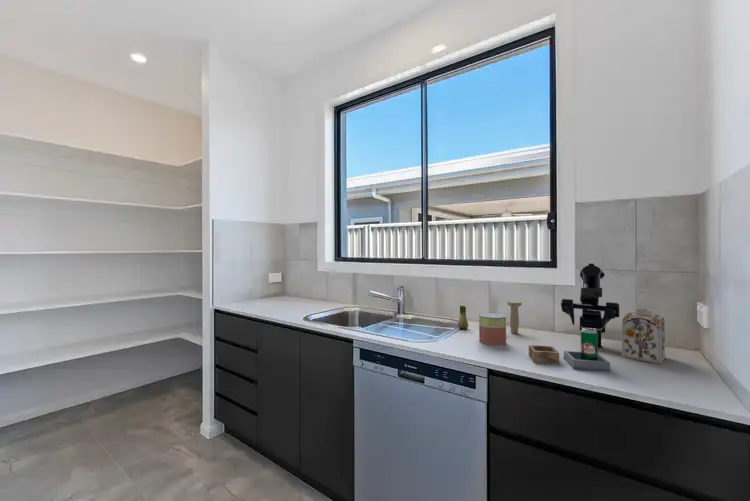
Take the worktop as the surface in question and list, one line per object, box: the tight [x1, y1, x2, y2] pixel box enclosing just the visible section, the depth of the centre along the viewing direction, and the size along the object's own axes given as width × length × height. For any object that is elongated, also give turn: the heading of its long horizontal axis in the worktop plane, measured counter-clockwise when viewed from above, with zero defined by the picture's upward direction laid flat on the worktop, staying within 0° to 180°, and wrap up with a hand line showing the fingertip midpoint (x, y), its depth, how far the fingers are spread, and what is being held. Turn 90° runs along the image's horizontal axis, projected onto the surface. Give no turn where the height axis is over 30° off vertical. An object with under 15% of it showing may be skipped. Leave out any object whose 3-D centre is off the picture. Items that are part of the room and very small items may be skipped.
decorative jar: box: [621, 308, 666, 365], centre depth 128 cm, size 12×12×18 cm
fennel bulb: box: [458, 304, 469, 330], centre depth 176 cm, size 6×5×12 cm
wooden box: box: [528, 344, 560, 365], centre depth 126 cm, size 8×8×4 cm
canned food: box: [478, 312, 507, 347], centre depth 149 cm, size 11×11×12 cm
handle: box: [506, 300, 522, 334], centre depth 166 cm, size 5×6×15 cm
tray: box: [563, 350, 611, 372], centre depth 120 cm, size 11×11×3 cm
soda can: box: [580, 328, 599, 361], centre depth 120 cm, size 5×5×12 cm
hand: (587, 326), depth 126 cm, fingers open, 9 cm apart
